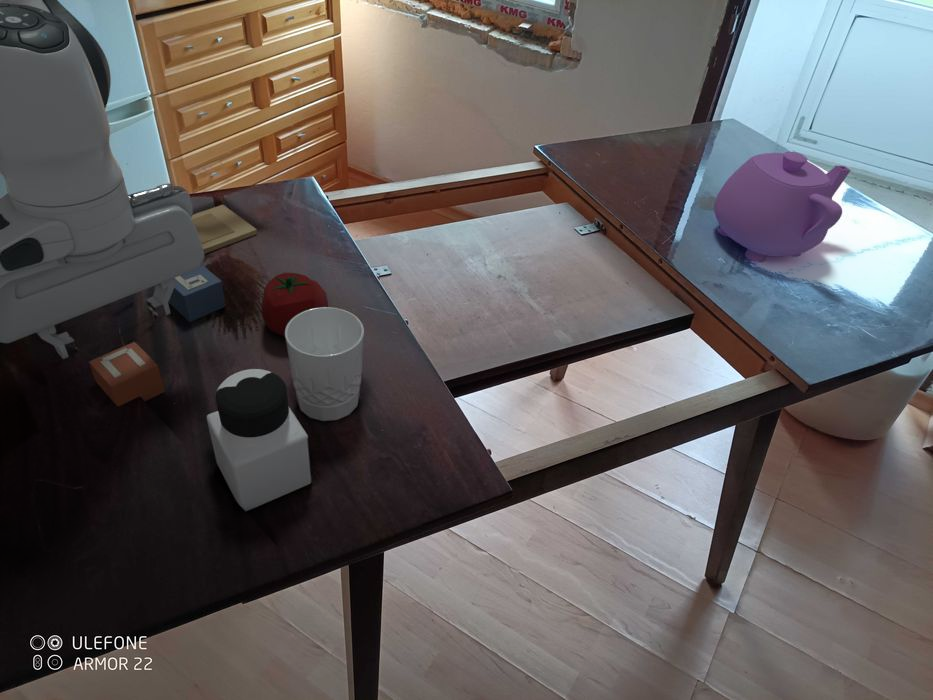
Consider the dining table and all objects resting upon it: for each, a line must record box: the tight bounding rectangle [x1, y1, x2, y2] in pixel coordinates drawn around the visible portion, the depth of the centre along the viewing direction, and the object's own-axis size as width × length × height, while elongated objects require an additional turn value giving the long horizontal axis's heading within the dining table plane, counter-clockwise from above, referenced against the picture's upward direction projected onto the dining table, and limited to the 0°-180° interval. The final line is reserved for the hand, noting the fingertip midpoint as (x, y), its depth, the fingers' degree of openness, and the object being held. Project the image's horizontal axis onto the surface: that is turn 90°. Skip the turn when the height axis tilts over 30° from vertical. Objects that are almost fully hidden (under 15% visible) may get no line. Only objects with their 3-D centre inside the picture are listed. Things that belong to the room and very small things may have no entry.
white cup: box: [284, 306, 365, 422], centre depth 73 cm, size 8×8×10 cm
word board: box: [191, 204, 258, 255], centre depth 95 cm, size 9×22×1 cm, turn 136°
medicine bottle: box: [206, 368, 313, 512], centre depth 64 cm, size 7×7×12 cm
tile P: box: [168, 263, 227, 323], centre depth 85 cm, size 5×5×4 cm
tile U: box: [88, 341, 166, 407], centre depth 73 cm, size 5×5×4 cm
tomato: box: [261, 272, 329, 338], centre depth 83 cm, size 8×8×7 cm
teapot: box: [713, 151, 852, 263], centre depth 106 cm, size 20×20×15 cm
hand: (116, 332), depth 69 cm, fingers open, 8 cm apart
